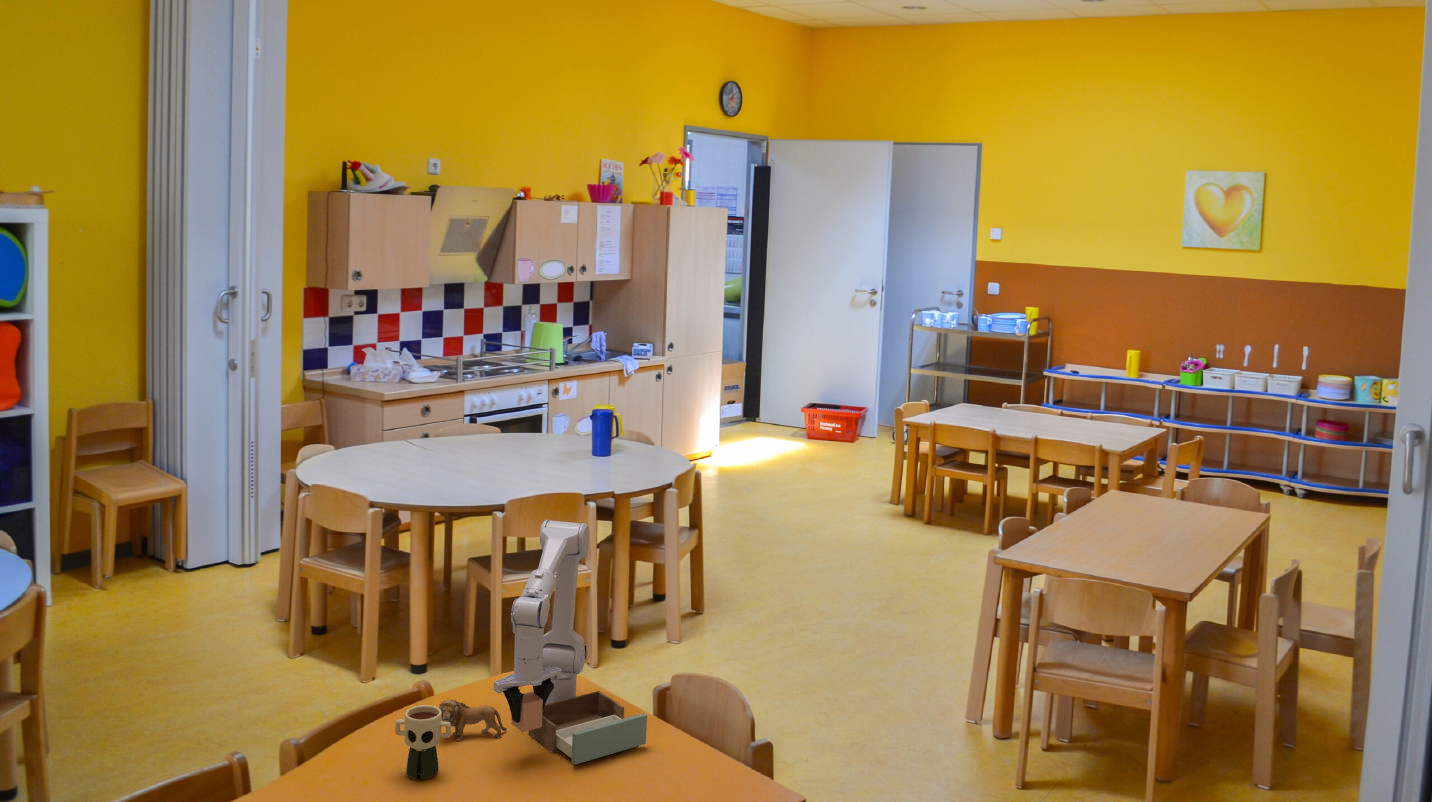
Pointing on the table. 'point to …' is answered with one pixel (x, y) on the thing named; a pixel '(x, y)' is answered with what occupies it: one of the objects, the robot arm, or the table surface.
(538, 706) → the terracotta block
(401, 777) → the table surface
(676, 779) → the table surface
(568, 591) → the robot arm
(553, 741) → the cubby
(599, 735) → the green drawer
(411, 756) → the character mug
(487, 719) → the lion figurine
